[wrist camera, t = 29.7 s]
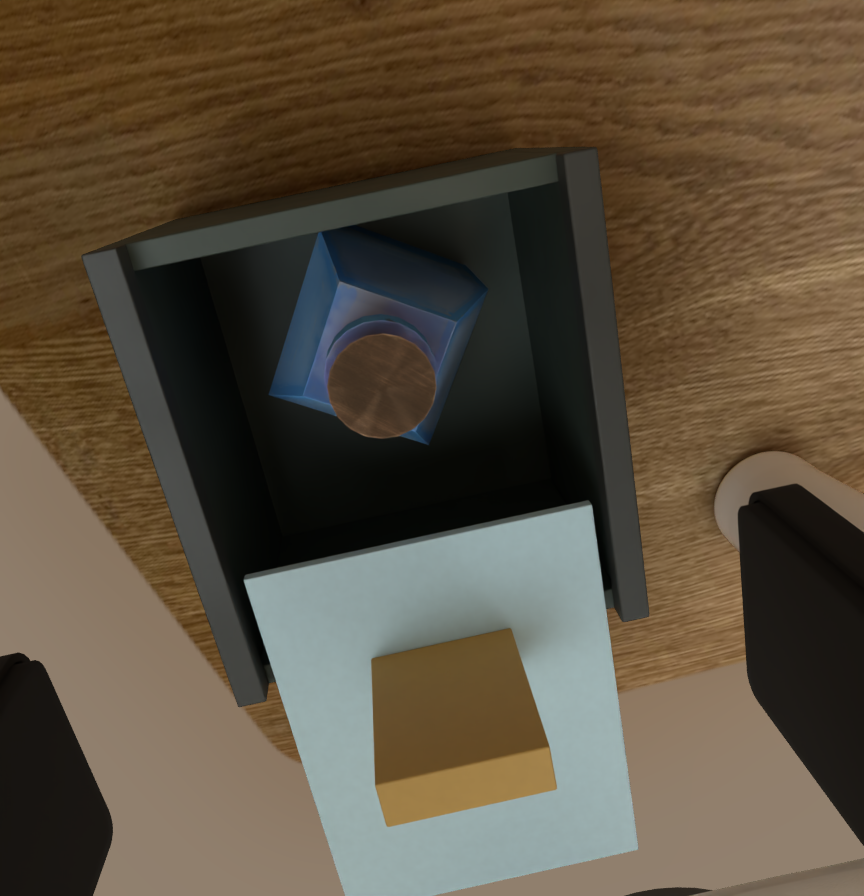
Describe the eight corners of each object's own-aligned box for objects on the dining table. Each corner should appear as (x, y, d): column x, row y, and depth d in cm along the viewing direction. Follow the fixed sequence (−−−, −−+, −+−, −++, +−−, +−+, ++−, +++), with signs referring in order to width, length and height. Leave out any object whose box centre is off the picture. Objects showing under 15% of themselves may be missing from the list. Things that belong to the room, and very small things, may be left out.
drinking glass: (692, 445, 39) (883, 612, 25) (827, 421, 39) (1092, 573, 25) (697, 566, 41) (873, 781, 27) (824, 543, 41) (1064, 744, 27)
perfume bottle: (283, 354, 35) (248, 451, 24) (326, 214, 33) (310, 247, 22) (417, 397, 36) (444, 509, 25) (466, 265, 34) (520, 321, 23)
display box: (565, 483, 39) (650, 617, 28) (272, 547, 39) (238, 708, 28) (516, 147, 33) (597, 146, 22) (173, 219, 33) (80, 255, 22)
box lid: (635, 841, 32) (698, 998, 26) (350, 905, 32) (350, 1077, 26) (589, 499, 27) (655, 599, 21) (244, 574, 27) (212, 696, 21)
